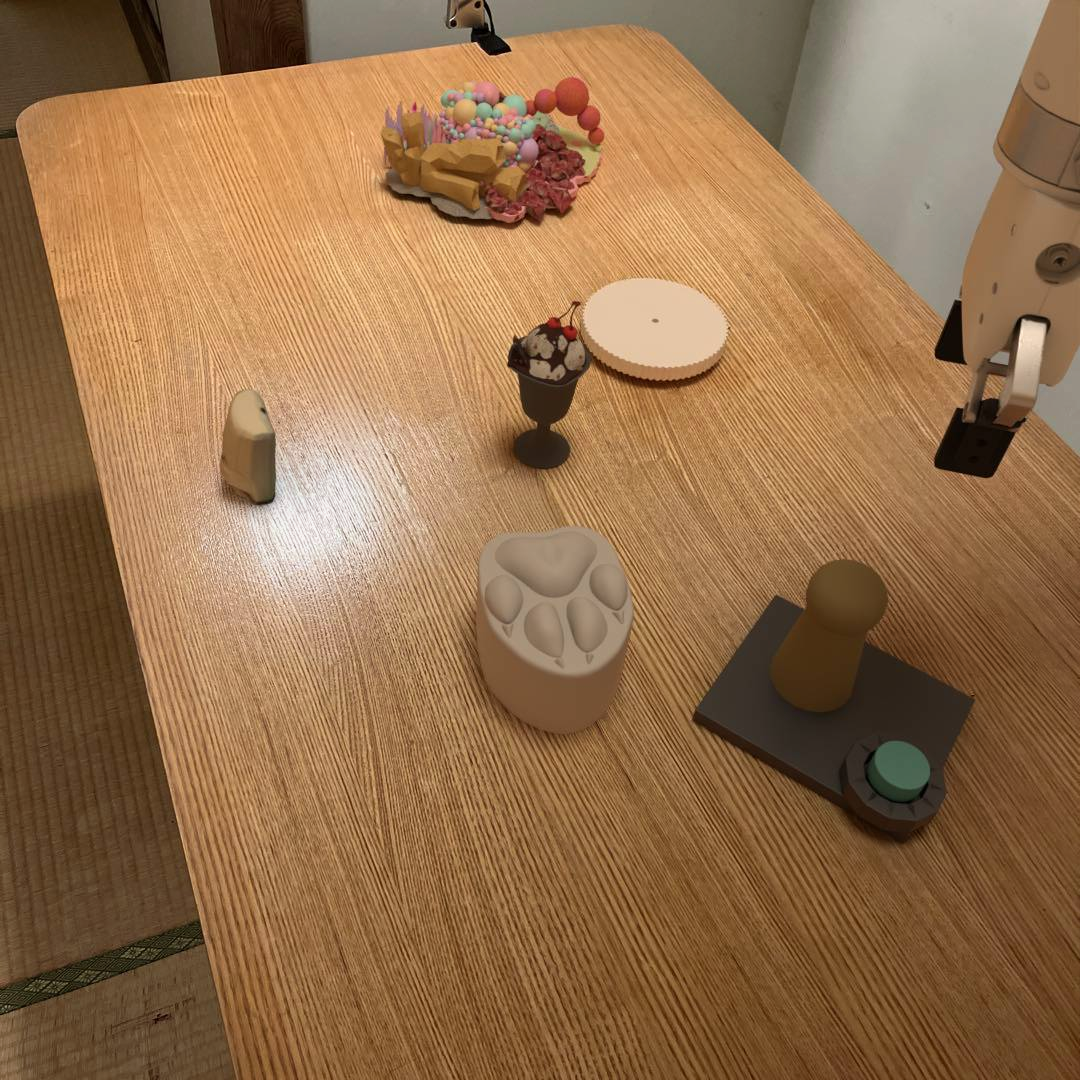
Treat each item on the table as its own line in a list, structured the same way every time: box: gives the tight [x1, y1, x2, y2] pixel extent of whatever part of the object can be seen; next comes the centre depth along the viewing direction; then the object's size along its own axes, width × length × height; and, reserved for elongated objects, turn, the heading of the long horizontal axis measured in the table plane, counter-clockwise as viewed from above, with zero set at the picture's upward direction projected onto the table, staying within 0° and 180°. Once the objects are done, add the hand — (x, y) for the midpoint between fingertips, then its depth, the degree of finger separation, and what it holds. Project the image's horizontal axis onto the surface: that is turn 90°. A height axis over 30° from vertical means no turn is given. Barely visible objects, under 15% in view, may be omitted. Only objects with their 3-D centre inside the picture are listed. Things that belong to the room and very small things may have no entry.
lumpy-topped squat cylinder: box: [475, 525, 635, 735], centre depth 76 cm, size 10×13×9 cm
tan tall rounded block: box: [219, 388, 277, 506], centre depth 86 cm, size 6×5×8 cm
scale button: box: [867, 741, 930, 802], centre depth 70 cm, size 4×4×2 cm
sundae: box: [506, 300, 592, 469], centre depth 88 cm, size 7×7×15 cm
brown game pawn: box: [770, 558, 889, 713], centre depth 73 cm, size 6×6×11 cm
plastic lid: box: [580, 277, 729, 382], centre depth 104 cm, size 14×14×2 cm
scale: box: [691, 594, 976, 845], centre depth 76 cm, size 17×14×3 cm
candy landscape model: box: [380, 76, 605, 224], centre depth 121 cm, size 25×24×9 cm
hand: (960, 412), depth 62 cm, fingers open, 9 cm apart
